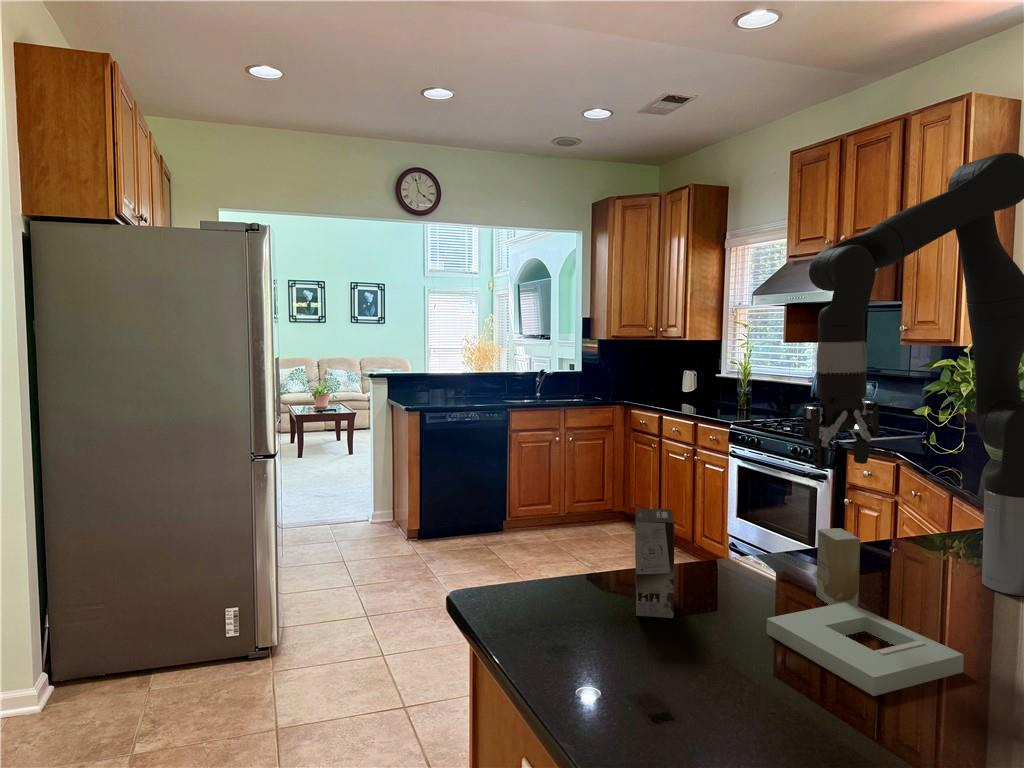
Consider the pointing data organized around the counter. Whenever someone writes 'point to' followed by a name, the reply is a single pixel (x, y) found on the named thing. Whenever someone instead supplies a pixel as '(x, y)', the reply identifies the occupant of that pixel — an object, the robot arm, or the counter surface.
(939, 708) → the counter surface
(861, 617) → the socket board
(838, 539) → the skincare box
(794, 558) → the counter surface
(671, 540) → the coffee box
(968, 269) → the robot arm
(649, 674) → the counter surface
